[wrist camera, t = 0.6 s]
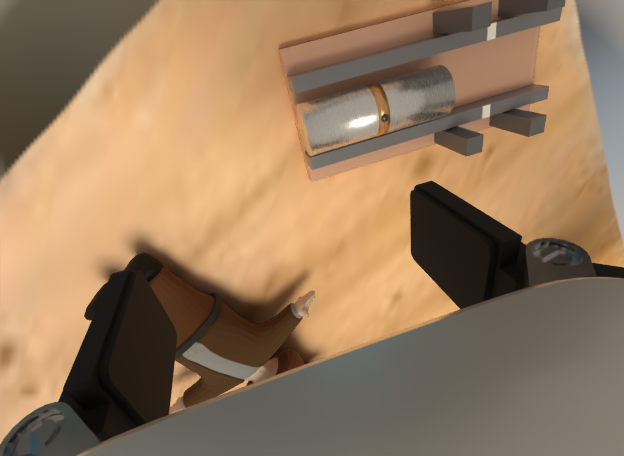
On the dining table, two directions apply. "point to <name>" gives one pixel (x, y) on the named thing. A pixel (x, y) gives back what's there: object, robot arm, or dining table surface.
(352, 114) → the steel tube
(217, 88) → the dining table surface
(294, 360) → the toy
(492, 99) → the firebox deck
